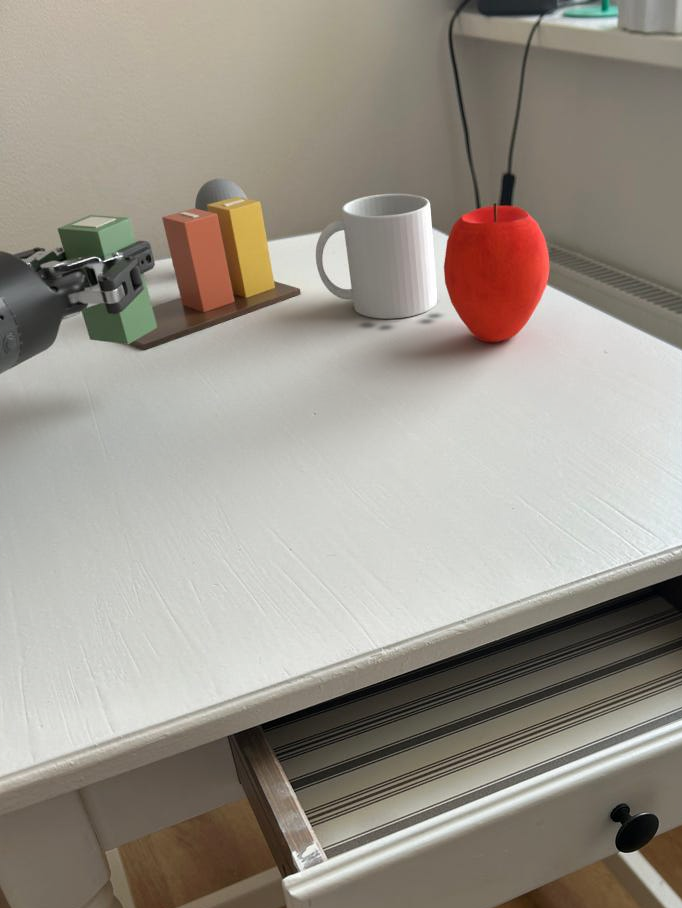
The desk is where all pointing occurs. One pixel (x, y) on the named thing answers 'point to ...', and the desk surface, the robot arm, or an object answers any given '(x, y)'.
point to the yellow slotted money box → (244, 245)
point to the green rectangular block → (98, 241)
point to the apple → (496, 270)
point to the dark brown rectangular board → (206, 315)
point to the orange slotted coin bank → (198, 259)
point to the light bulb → (217, 193)
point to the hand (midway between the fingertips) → (125, 251)
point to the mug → (386, 255)
